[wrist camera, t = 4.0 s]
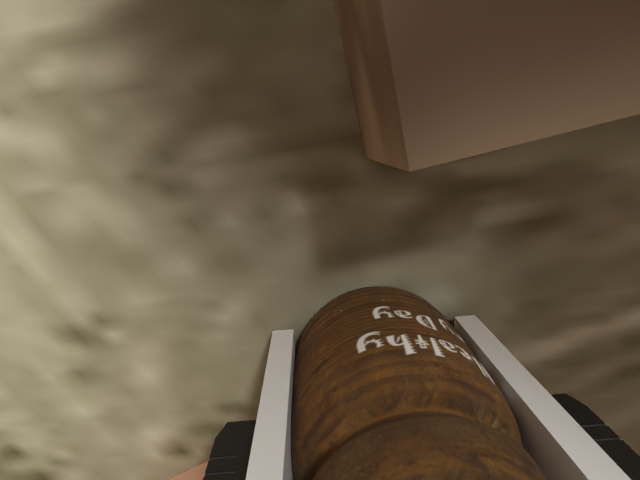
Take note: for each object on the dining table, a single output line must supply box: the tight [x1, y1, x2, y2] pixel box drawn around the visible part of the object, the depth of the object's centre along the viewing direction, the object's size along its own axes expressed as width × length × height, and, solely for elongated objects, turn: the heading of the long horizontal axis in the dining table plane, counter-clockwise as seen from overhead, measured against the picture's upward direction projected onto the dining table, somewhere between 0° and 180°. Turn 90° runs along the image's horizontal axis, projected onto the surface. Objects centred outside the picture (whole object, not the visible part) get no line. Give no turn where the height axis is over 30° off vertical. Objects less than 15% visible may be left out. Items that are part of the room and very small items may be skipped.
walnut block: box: [334, 0, 640, 172], centre depth 8 cm, size 5×5×5 cm
